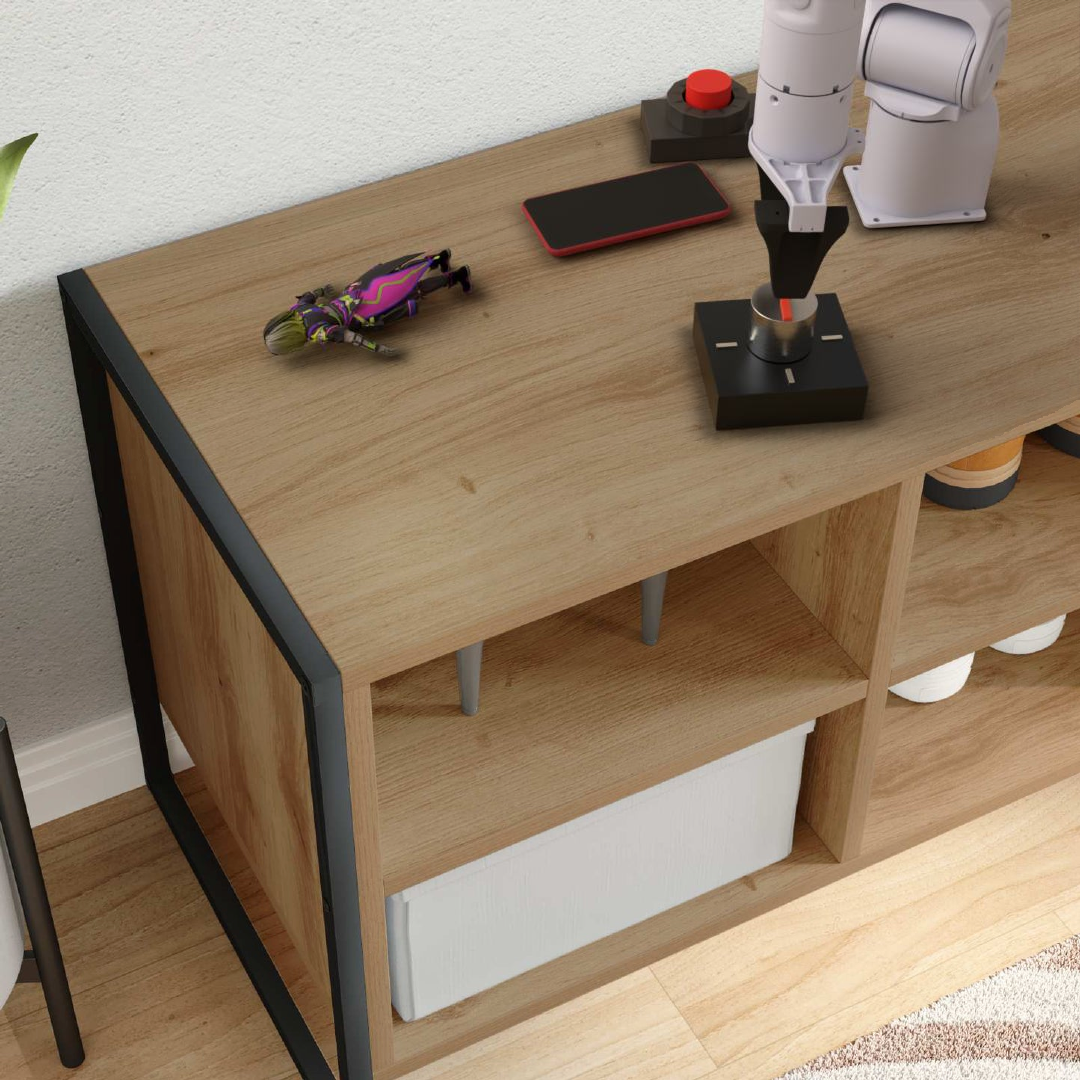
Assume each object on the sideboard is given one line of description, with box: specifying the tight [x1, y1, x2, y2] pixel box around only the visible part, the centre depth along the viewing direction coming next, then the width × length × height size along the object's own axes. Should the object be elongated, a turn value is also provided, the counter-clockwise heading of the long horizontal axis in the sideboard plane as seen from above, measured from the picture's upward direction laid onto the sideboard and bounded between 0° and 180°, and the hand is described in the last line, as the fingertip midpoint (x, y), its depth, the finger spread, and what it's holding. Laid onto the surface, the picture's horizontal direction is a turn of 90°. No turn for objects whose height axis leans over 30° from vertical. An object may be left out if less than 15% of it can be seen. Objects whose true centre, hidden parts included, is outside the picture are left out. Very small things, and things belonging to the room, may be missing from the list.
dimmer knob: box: [747, 281, 818, 363], centre depth 105 cm, size 4×4×4 cm
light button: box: [686, 68, 732, 110], centre depth 126 cm, size 4×4×2 cm
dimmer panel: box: [692, 292, 870, 431], centre depth 108 cm, size 10×10×3 cm
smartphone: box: [521, 161, 732, 258], centre depth 122 cm, size 7×1×15 cm
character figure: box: [262, 247, 474, 356], centre depth 112 cm, size 9×4×16 cm
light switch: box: [639, 76, 756, 164], centre depth 128 cm, size 10×6×4 cm, turn 95°
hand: (784, 259), depth 103 cm, fingers open, 7 cm apart
